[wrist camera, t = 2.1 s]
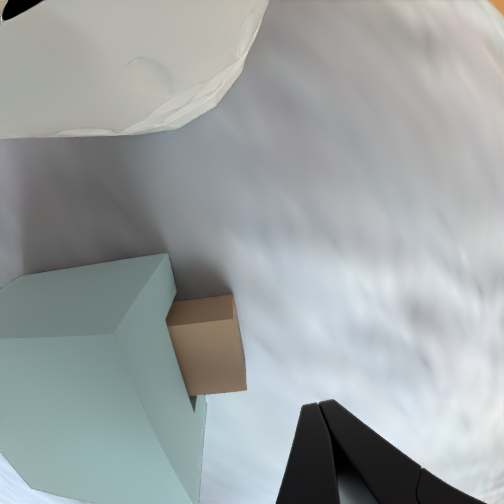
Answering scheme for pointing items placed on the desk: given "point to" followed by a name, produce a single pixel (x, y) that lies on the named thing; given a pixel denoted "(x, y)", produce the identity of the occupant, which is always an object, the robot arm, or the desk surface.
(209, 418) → the desk surface
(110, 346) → the block
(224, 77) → the white cup
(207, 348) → the rail
